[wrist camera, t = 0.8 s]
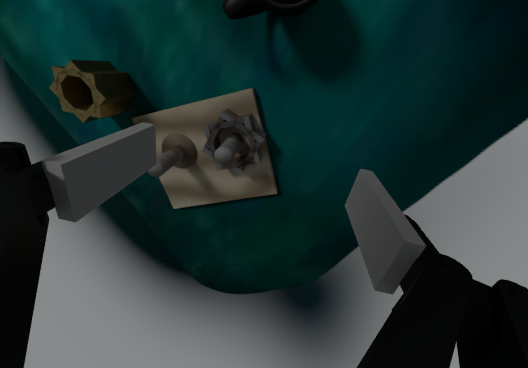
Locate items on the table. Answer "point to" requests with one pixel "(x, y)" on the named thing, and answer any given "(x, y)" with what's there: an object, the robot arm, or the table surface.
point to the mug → (265, 7)
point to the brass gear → (92, 89)
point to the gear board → (212, 150)
